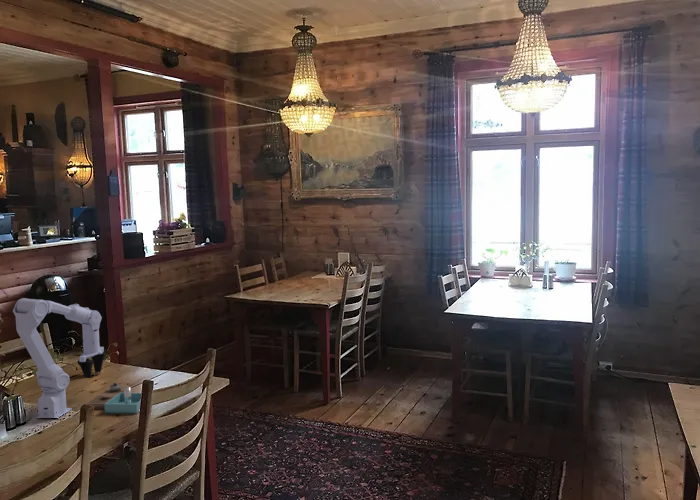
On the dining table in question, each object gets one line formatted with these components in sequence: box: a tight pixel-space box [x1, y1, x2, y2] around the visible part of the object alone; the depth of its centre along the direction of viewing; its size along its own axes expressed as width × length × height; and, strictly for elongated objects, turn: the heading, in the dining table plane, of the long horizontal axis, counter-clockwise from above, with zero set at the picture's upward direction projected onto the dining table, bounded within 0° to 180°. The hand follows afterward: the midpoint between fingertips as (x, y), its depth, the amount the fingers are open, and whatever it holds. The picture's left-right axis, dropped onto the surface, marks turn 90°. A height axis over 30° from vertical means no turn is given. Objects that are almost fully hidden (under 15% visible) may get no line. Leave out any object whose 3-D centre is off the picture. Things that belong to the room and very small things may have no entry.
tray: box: [104, 392, 142, 415], centre depth 212 cm, size 12×12×4 cm
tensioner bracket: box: [86, 382, 125, 410], centre depth 219 cm, size 18×8×5 cm, turn 176°
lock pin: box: [123, 386, 132, 404], centre depth 212 cm, size 2×2×7 cm
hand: (93, 374), depth 221 cm, fingers open, 7 cm apart
